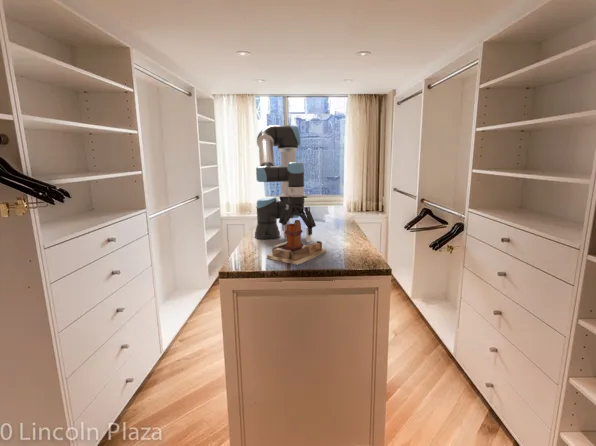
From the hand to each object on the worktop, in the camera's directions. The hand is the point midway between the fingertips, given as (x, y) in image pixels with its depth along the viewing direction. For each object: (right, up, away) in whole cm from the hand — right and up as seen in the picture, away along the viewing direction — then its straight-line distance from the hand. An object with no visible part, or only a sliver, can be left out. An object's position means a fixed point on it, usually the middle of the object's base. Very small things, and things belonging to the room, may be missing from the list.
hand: (297, 239), depth 156 cm
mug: (-1, -6, +2) cm, 6 cm away
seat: (0, -8, +2) cm, 8 cm away
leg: (+8, -6, +2) cm, 10 cm away
